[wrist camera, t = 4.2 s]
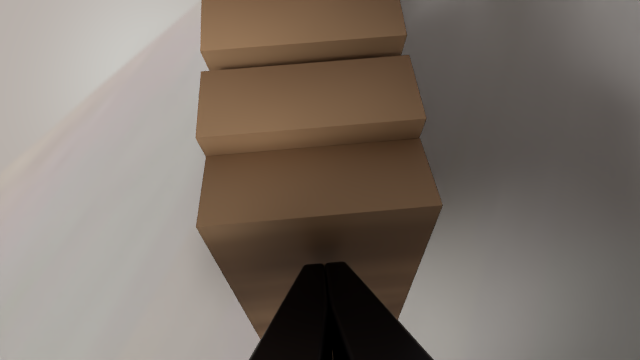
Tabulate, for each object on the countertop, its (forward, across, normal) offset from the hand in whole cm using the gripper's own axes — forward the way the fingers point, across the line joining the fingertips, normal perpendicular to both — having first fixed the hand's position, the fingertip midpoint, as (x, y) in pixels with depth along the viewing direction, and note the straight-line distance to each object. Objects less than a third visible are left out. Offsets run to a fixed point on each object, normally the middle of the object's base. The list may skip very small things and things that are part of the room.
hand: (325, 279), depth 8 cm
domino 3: (+10, 0, +2) cm, 10 cm away
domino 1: (+5, 0, +7) cm, 8 cm away
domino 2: (+7, 0, +4) cm, 8 cm away
